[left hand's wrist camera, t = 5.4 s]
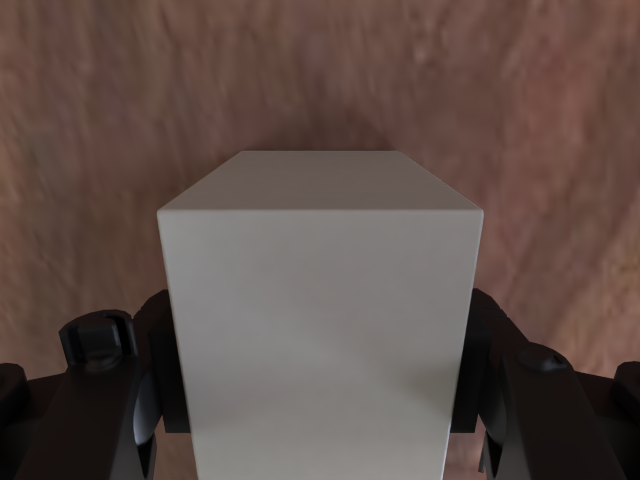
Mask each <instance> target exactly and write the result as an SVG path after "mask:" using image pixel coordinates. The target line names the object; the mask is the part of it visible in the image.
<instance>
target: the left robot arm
mask: <svg viewBox="0 0 640 480" xmlns="http://www.w3.org/2000/svg"><path fill="white" fill-rule="evenodd" d="M59 336H60V339H61V343H62V346H63V350H64V353H65V357H66V360H67V364H68V368H67V370H66V372H65V373H62V374H58V375H53V376H48V377H43V378H38V379H33V380H28V381H27V378H26V375H25V372H24V369H23V368H22V367H21V366H19V365H18V364H12V363H2V364H0V480H153V475H154V467H155V459H156V450H157V444H156V438H155V433H154V430H155V428H156V426H157V424H158V422H159V420H160V418H161V416H162V415H163V421H164V426H165V431H166V433H191V430H190V424H189V417H188V411H187V405H186V398H185V392H184V386H183V379H182V373H181V366H180V360H179V354H178V347H177V341H176V335H175V328H174V322H173V315H172V309H171V303H170V296H169V290H162V291H160V292H159V293H157V294H155V295H154V296H152V297H150V298H149V299H148V300H147V301H146V303H145V304H144V305H143V306H142V307H141V310H139V311H138V312H137V313H136V314H135V316H134V319H131V315H129V314H128V313H127V312H125V311H121V310H101V311H97V312H92V313H88V314H86V315H83V316H80V317H78V318H76V319H74V320H72V321H71V322H69V323H67V324H66V325H65V326H64V327H63V328H62V329H61V330H60V331H59ZM478 414H479V416H480V418H481V420H482V422H483V424H484V426H485V428H486V433H485V438H484V443H483V448H482V453H481V458H480V463H479V469H478V472H482V473H483V472H484V468H485V466H486V474H487V480H640V362H637V361H632V362H624V363H622V364H621V365H619V366H618V367H617V370H616V373H615V376H614V379H611V378H606V377H601V376H596V375H591V374H586V373H581V372H577V371H574V369H573V367H572V365H571V364H570V363H569V362H568V360H567V359H566V358H565V357H564V356H562V355H561V354H559V353H558V352H557V351H555V350H553V349H551V348H548V347H546V346H544V345H541V344H537V343H533V342H529V341H528V340H527V338H526V337H525V336H524V335H523V334H522V333H521V331H520V330H519V329H518V328H517V327H516V325H515V324H514V323H513V322H512V321H511V320H510V318H509V317H507V315H506V314H505V313H504V311H503V310H502V309H500V307H499V305H498V304H497V303H496V302H495V301H494V300H493V298H492V297H491V296H489V295H487V294H486V293H484V292H482V291H481V290H479V289H477V288H472V294H471V300H470V307H469V313H468V319H467V326H466V332H465V338H464V345H463V351H462V357H461V364H460V370H459V376H458V383H457V389H456V395H455V402H454V408H453V414H452V421H451V427H450V433H475V427H476V422H477V417H478Z"/></svg>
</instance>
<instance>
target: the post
mask: <svg viewBox="0 0 640 480" xmlns="http://www.w3.org/2000/svg"><path fill="white" fill-rule="evenodd" d="M483 218H484V212H483V210H482V209H481V208H479V207H478V206H476V205H475V204H474V203H472V202H471V201H469V200H468V199H466V198H465V197H464V196H462V195H461V194H459V193H458V192H457V191H455V190H454V189H452V188H451V187H449V186H448V185H447V184H445V183H444V182H442V181H441V180H439V179H438V178H437V177H435V176H434V175H432V174H431V173H429V172H428V171H427V170H425V169H424V168H422V167H421V166H420V165H418V164H417V163H415V162H414V161H412V160H411V159H410V158H408V157H407V156H405V155H404V154H402V153H401V152H400V151H240V152H239V153H238V154H236V155H235V156H233V157H232V158H231V159H229V160H228V161H226V162H225V163H224V164H222V165H221V166H219V167H218V168H216V169H215V170H214V171H212V172H211V173H209V174H208V175H207V176H205V177H204V178H202V179H201V180H200V181H198V182H197V183H195V184H194V185H192V186H191V187H190V188H188V189H187V190H185V191H184V192H183V193H181V194H180V195H178V196H177V197H176V198H174V199H173V200H171V201H170V202H168V203H167V204H166V205H164V206H163V207H161V208H160V209H159V210H158V211H157V220H158V226H159V232H160V239H161V245H162V252H163V258H164V264H165V271H166V277H167V284H168V290H169V296H170V303H171V309H172V315H173V322H174V328H175V335H176V341H177V347H178V354H179V360H180V366H181V373H182V379H183V386H184V392H185V398H186V405H187V411H188V417H189V424H190V430H191V437H192V443H193V449H194V456H195V462H196V469H197V475H198V480H442V477H443V471H444V465H445V458H446V452H447V446H448V440H449V433H450V427H451V421H452V414H453V408H454V402H455V395H456V389H457V383H458V376H459V370H460V364H461V357H462V351H463V345H464V338H465V332H466V326H467V319H468V313H469V307H470V300H471V294H472V288H473V281H474V275H475V269H476V263H477V256H478V250H479V244H480V237H481V231H482V225H483Z"/></svg>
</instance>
